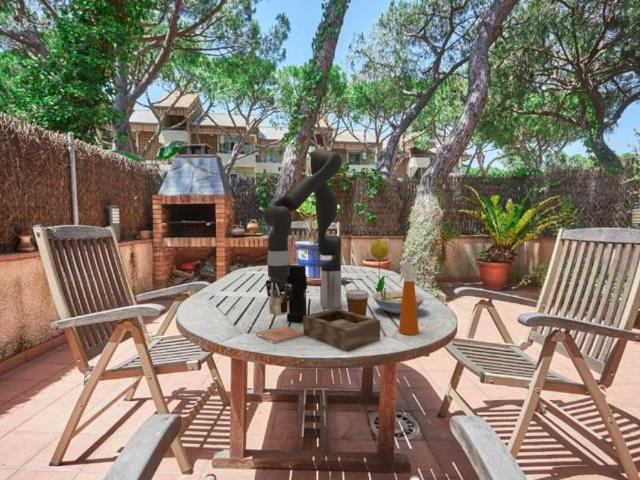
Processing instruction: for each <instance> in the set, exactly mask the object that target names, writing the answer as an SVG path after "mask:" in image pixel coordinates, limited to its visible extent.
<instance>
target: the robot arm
mask: <svg viewBox="0 0 640 480" xmlns="http://www.w3.org/2000/svg"><path fill="white" fill-rule="evenodd" d="M342 161H343V160H342V157H341V155H340V154H339V153H338V152H335V151H332V150H328V149H325V148H324V149H323V148H316V149H314V150H313V151H312V153H311V156H310V161H309V162H310V170H311V175H310V176H308V177H305V178H303V179H301V180H299V181H297V182H296V183H294V184H292V185H291V187H290V188H289V189H288V190H287V191H286V192H285V193H284V195H282V196H281V197H280V198H278V199H276V201H274V202H273V203H271V204H270V205H269V206H268V207H267V208H266V210H265V211H264V214H263V221H264V223H265V224H266V225H267V226H269V227H274V228H273V231H272V233H271V234H269V235H268V238H267V244H268V245H267V250H268V251H267V277H269V279H268V280H266V281H265V287H266V294H267V297H268V298H269V296H275V295H278V296H280V300H281V313H285V312H287V302H288V301H290V300H291V298H292V290H293V285H292V284H288V282H287V277H288V276H289V264H290V254H289V236H290V234H291V233H290V232H291V227H292V221H293V215H292V212H295V211H297V210H298V209H299V208H301V206H302V205H303V204H304V203H305V202H306V201H307V199H308V198H309V197H310V196H312V194H313V193H314V199H315V200H314V203H315V214H316V222H317V224H316V226H317V249H318V254H319V255H320V256H322V257H323V256H326V257H327V256H331V257H333V256H334V257H333V258H332V259H331V260H329V261H327V262H324V263H322V264H321V265H320V266H321V269H320V271H321V279H320V280H321V285H320V286H319V289H320V290H319V294H320V295H319V299H320V302H319V303H320V304H319V305H320V306H321V308H323V309H327V310H330V309H334V308H337V309H341V307H342V238H341V236H339V235H326V233H327V231H328V230H329V228H330V226H331V225H332V224H333V222H335V220H336V218H337V215H338V199H337V196H336V194H335V193H334V190H333V189H332V188H331V186H330V184H329V181H330V180H331V179H332V178H333V177H334V176H336V175H337V173H338V172H339V171H340V169H341V167H342ZM283 295H284V299H283ZM287 295H289V296H287Z"/></svg>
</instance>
